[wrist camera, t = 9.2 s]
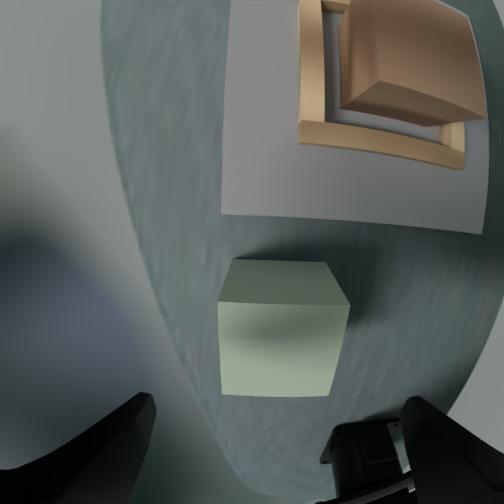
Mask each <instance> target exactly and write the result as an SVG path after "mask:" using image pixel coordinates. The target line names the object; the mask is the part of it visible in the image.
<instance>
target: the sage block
mask: <svg viewBox="0 0 504 504" xmlns="http://www.w3.org/2000/svg"><path fill="white" fill-rule="evenodd" d="M349 310H350V303H349V302H348V300H347V298H346V296H345V295H344V293H343V291H342V289H341V288H340V286H339V284H338V283H337V281H336V279H335V277H334V276H333V274H332V272H331V271H330V269H329V267H328V266H327V264H326V262H306V261H278V260H251V259H232V262H231V264H230V267H229V270H228V273H227V276H226V279H225V282H224V284H223V287H222V290H221V293H220V296H219V299H218V328H219V349H220V368H221V385H222V394H228V395H242V396H265V397H309V396H328V395H329V392H330V389H331V385H332V381H333V378H334V374H335V370H336V367H337V363H338V359H339V355H340V351H341V347H342V342H343V338H344V334H345V329H346V325H347V320H348V315H349Z"/></svg>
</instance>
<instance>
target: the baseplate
mask: <svg viewBox="0 0 504 504" xmlns="http://www.w3.org/2000/svg"><path fill="white" fill-rule="evenodd" d="M433 1H435V2H437V3H440V4H442V5H444V6H446V7H448V8H450V9H452V10H453V11H455V12H457V13H459V14H461V15H463V16H464V17H466V18H468V21H469V24H470V27H471V31H472V35H473V38H474V42H475V46H476V50H477V55H478V60H479V65H480V70H481V76H482V82H483V89H484V98H485V107H486V118H485V119H477V120H469V121H462V122H455V123H449V124H443V125H437V126H431V127H423V126H419V125H416V124H412V123H408V122H404V121H400V120H396V119H391V118H387V117H382V116H377V115H372V114H367V113H361V112H355V111H349V110H343V109H340V67H339V46H338V31H337V26H338V24H339V22H340V20H341V18H342V17H343V15H344V13H345V11H346V9H347V7H348V5H349V4H350V2H351V0H231V7H230V19H229V32H228V46H227V61H226V78H225V98H224V120H223V149H222V192H221V214H228V215H256V216H278V217H297V218H315V219H330V220H344V221H357V222H370V223H382V224H393V225H403V226H413V227H423V228H432V229H441V230H450V231H458V232H466V233H474V234H481V235H482V230H483V224H484V217H485V209H486V201H487V190H488V176H489V124H488V110H487V100H486V92H485V84H484V78H483V72H482V67H481V62H480V57H479V52H478V48H477V44H476V40H475V36H474V33H473V29H472V26H471V22H470V19H469V16H468V15H466V14H464V13H463V12H461V11H459V10H457V9H455V8H453V7H451V6H450V5H448V4H446V3H444V2H442V1H440V0H433Z"/></svg>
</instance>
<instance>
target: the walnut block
mask: <svg viewBox="0 0 504 504" xmlns="http://www.w3.org/2000/svg"><path fill="white" fill-rule="evenodd" d="M337 31H338V46H339V67H340V109H343V110H349V111H355V112H361V113H367V114H372V115H377V116H382V117H387V118H391V119H396V120H400V121H404V122H408V123H412V124H416V125H419V126H423V127H431V126H437V125H443V124H449V123H455V122H462V121H469V120H477V119H485V118H486V107H485V98H484V89H483V82H482V76H481V70H480V65H479V60H478V55H477V50H476V46H475V42H474V38H473V35H472V31H471V27H470V24H469V21H468V18H466V17H464V16H463V15H461V14H459V13H457V12H455V11H453V10H452V9H450V8H448V7H446V6H444V5H442V4H440V3H437V2H435V1H433V0H351V2H350V4H349V5H348V7H347V9H346V11H345V13H344V15H343V17H342V18H341V20H340V22H339V24H338V26H337Z"/></svg>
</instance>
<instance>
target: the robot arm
mask: <svg viewBox="0 0 504 504" xmlns="http://www.w3.org/2000/svg"><path fill="white" fill-rule="evenodd" d="M155 417H156V406H155V403H154V399H153V396H152V395H151V394H149V393H145V392H139V393H138V394H136V395H135V396H134V397H132V398H131V399H130V400H128V401H127V402H125V403H124V404H123V405H121V406H120V407H118V408H117V409H115V410H114V411H113V412H111V413H110V414H108V415H107V416H106V417H104V418H103V419H101V420H100V421H98V422H97V423H95V424H94V425H92V426H91V427H90V428H88V429H87V430H85V431H84V432H82V433H81V434H79V435H78V436H76V437H75V438H73V439H72V440H70V442H67V443H65V444H64V445H62V446H61V447H59V448H57V449H56V450H54V451H52V452H51V453H49V454H47V455H45V456H43V457H41V458H38V459H36V460H34V461H32V462H30V463H27V464H25V465H23V466H20V467H18V468H15V469H8V470H2V469H0V504H129V501H130V499H131V496H132V493H133V490H134V487H135V484H136V482H137V479H138V475H139V473H140V470H141V467H142V465H143V462H144V459H145V456H146V454H147V451H148V447H149V443H150V439H151V434H152V430H153V426H154V421H155ZM400 419H401V421H400ZM400 419H399V418H396V419H391V420H385V421H379V422H372V423H365V424H358V425H349V426H339V427H336V428H334V429H333V431H332V433H331V436H330V438H329V440H328V442H327V445H326V447H325V449H324V451H323V453H322V456H321V458H320V464H330V463H332V469H333V476H334V482H335V489H336V496H337V498H335V499H332V500H328V501H324V502H322V501H321V502H316V503H315V504H504V454H503V453H502V452H500V451H498V450H496V449H495V448H493V447H492V446H490V445H489V444H487V443H486V442H484V441H483V440H481V439H479V438H478V437H477V436H475V435H474V434H472V433H471V432H470V431H468V430H467V429H465V428H464V427H462V426H461V425H460V424H458V423H457V422H455V421H454V420H453V419H451V418H450V417H448V416H447V415H446V414H444V413H443V412H441V411H440V410H439V409H437V408H436V407H434V406H433V405H432V404H430V403H429V402H427V401H426V400H425V399H423V398H422V397H420V396H412V397H409V398H408V399H407V401H406V403H405V405H404V406H403V408H402V410H401V413H400ZM400 424H402V430H403V436H404V443H405V449H406V453H407V457H408V461H409V465H410V468H411V470H410V471H408V472H406V473H404V474H403V471H402V468H401V465H400V462H399V459H398V454H397V451H396V448H395V445H394V442H393V440H392V437H393V435H394V433H395V432H396V430H397V429H398V427H399V426H400ZM413 488H415V491H413V492H411V493H409V490H411V489H413Z"/></svg>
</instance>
